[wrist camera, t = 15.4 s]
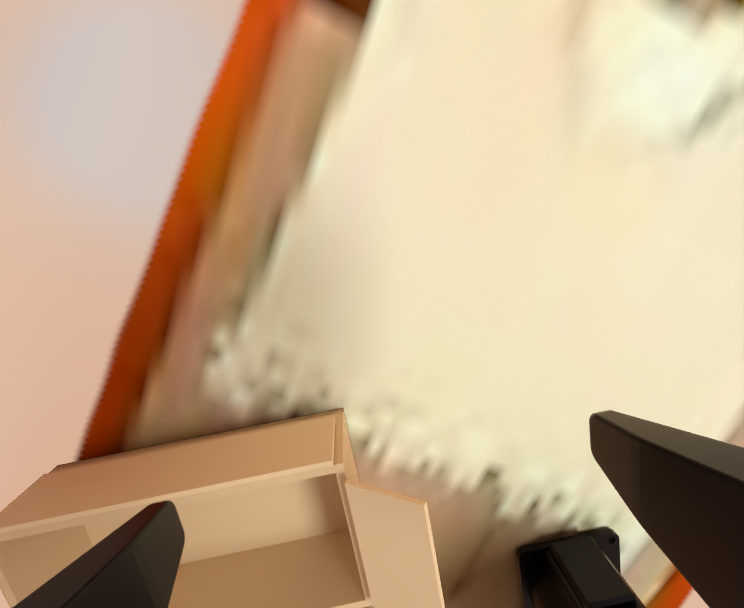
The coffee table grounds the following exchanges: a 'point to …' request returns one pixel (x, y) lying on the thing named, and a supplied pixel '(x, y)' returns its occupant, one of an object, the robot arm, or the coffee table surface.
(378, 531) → the inner flap
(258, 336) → the coffee table surface
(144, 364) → the coffee table surface
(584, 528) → the coffee table surface
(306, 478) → the carton
